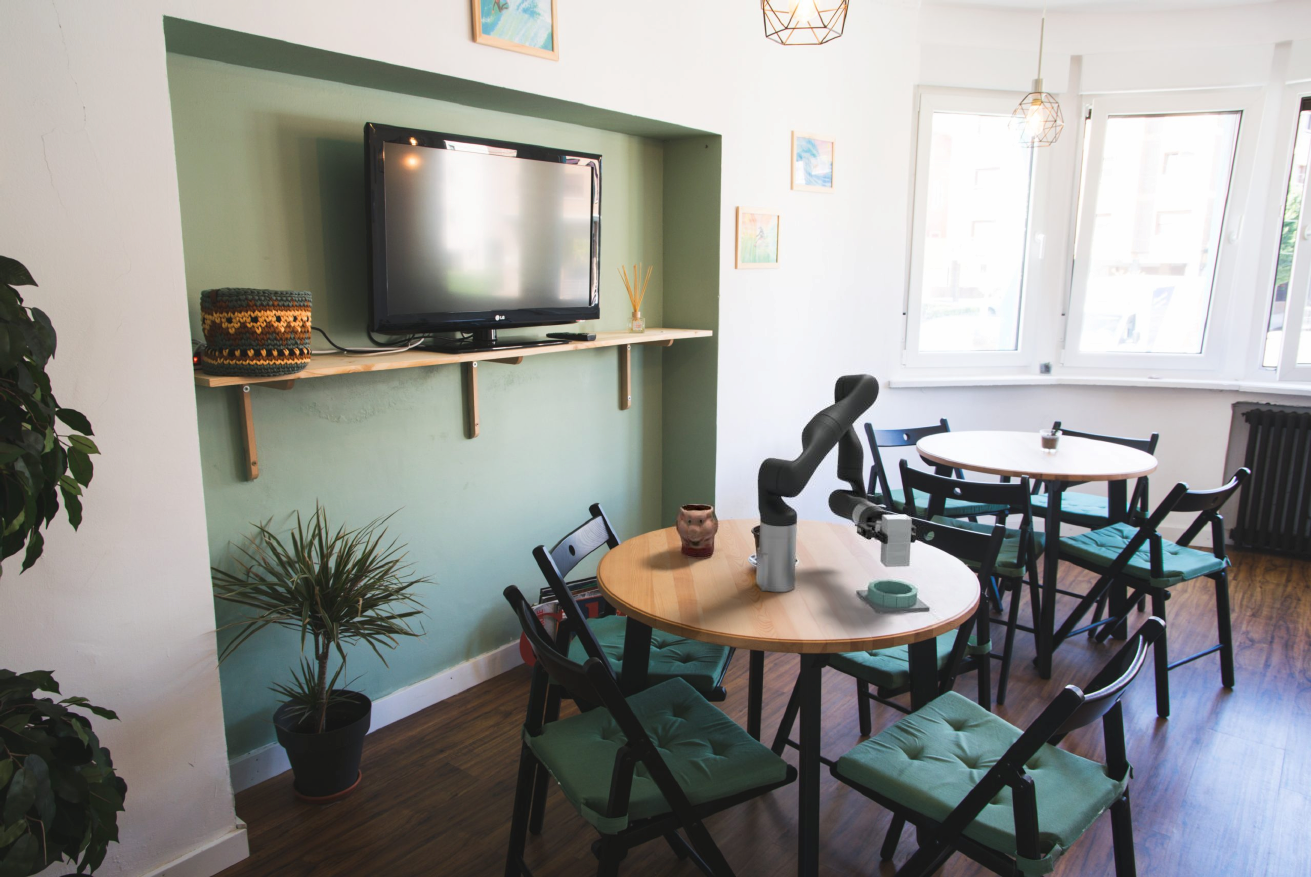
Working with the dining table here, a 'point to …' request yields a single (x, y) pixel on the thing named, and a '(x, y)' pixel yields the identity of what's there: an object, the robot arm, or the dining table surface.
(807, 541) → the dining table surface
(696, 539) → the decorative planter
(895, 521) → the skincare box
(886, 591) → the collar holder
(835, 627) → the dining table surface
